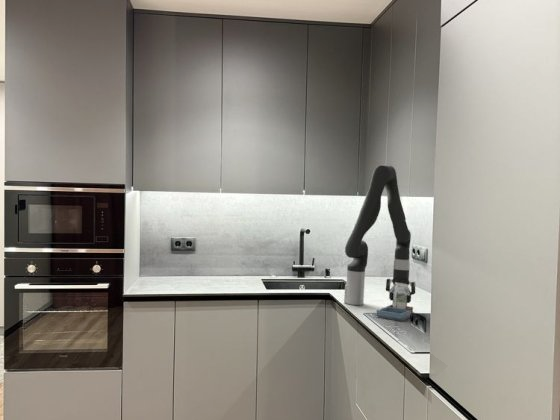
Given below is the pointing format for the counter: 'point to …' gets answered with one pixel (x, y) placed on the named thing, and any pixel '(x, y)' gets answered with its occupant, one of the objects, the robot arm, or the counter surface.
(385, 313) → the slate tray
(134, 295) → the counter surface
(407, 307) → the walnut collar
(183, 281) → the counter surface
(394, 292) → the syrup box
